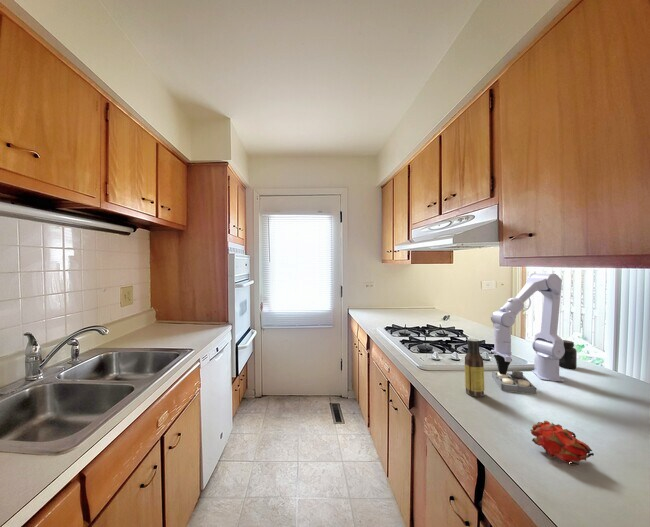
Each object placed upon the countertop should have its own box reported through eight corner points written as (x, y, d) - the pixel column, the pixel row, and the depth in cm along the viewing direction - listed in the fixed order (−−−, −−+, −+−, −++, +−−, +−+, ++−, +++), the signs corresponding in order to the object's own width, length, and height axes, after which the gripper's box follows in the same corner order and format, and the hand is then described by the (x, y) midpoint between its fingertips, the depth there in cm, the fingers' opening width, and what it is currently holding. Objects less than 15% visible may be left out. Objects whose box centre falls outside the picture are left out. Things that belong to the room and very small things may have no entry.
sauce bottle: (487, 394, 101) (487, 340, 101) (478, 399, 97) (478, 343, 97) (470, 388, 106) (470, 336, 106) (461, 392, 102) (461, 339, 103)
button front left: (516, 384, 107) (516, 379, 107) (527, 385, 106) (527, 380, 106) (519, 388, 104) (519, 382, 104) (531, 389, 102) (531, 384, 102)
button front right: (501, 382, 109) (501, 377, 109) (511, 383, 107) (511, 378, 107) (503, 386, 105) (503, 381, 105) (514, 387, 104) (514, 382, 104)
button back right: (496, 376, 115) (496, 371, 115) (506, 377, 114) (506, 372, 114) (498, 379, 111) (498, 374, 111) (509, 380, 110) (509, 375, 110)
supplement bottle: (554, 365, 130) (554, 340, 130) (561, 363, 133) (561, 338, 133) (572, 370, 124) (571, 344, 124) (579, 368, 127) (579, 342, 127)
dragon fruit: (526, 448, 73) (588, 480, 65) (524, 442, 68) (590, 476, 60) (534, 417, 76) (594, 444, 68) (533, 409, 71) (597, 437, 62)
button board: (492, 377, 116) (492, 371, 116) (523, 380, 113) (522, 374, 113) (501, 390, 104) (501, 384, 104) (536, 394, 101) (536, 388, 101)
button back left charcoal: (510, 374, 113) (510, 369, 113) (520, 375, 112) (520, 370, 112) (513, 378, 110) (513, 373, 110) (524, 379, 109) (524, 374, 109)
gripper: (486, 335, 121) (486, 366, 121) (496, 344, 107) (496, 379, 107) (505, 336, 118) (505, 368, 118) (517, 346, 105) (517, 381, 105)
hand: (502, 373), depth 112 cm, fingers closed, pressing on button back right
